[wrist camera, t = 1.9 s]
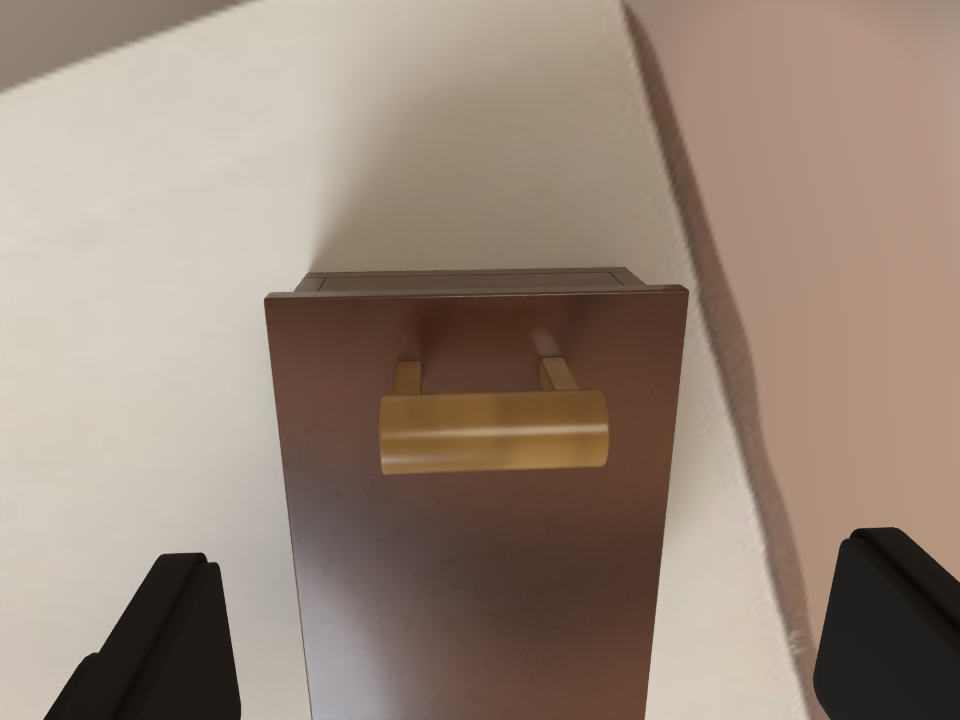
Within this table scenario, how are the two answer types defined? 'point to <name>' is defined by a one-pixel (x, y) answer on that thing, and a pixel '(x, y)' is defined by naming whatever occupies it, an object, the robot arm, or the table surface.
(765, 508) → the table surface
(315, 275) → the wooden chest
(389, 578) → the cover
